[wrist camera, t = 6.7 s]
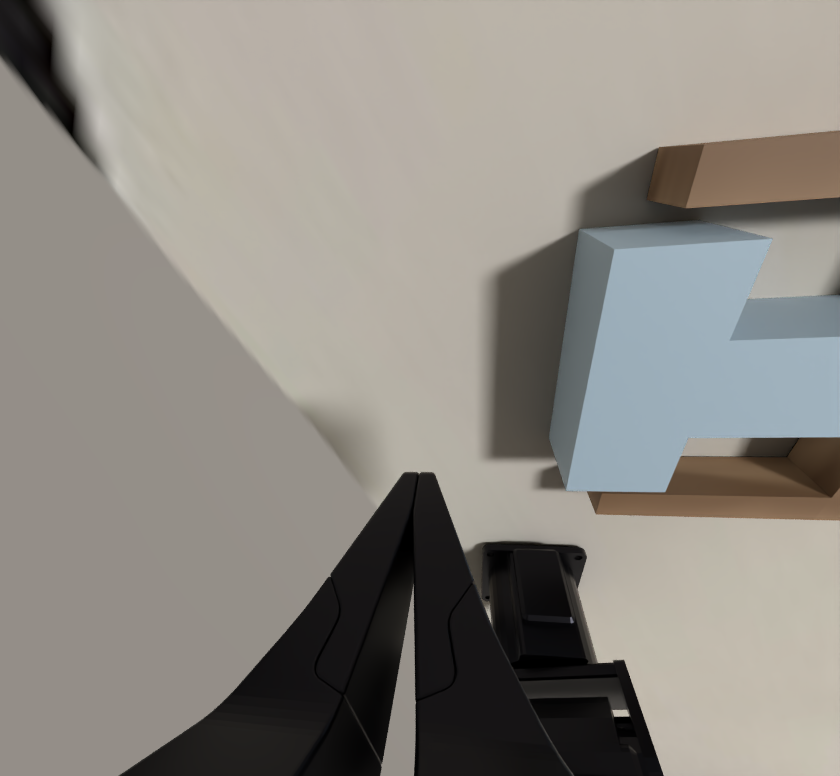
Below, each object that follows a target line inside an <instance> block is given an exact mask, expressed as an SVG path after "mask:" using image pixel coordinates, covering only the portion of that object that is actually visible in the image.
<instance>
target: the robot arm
mask: <svg viewBox="0 0 840 776" xmlns="http://www.w3.org/2000/svg"><path fill="white" fill-rule="evenodd" d="M586 559H587V556H586V553H585V550H584V549H582V548H579V547H553V546H525V545H497V544H488V545H485V546H484V547H483V556H482V599H483V600H485V601H490V610H491V623H490V620H489V618H488V615H487V613H486V610H485V608H484V605H483V603H482V600H481V598H480V595H479V592H478V590H477V587H476V585H475V584H474V579H473V576H472V574H471V571H470V568H469V566H468V563H467V560H466V557H465V555H464V552H463V549H462V547H461V544H460V541H459V538H458V536H457V533H456V530H455V528H454V525H453V522H452V519H451V517H450V514H449V511H448V509H447V506H446V503H445V500H444V498H443V495H442V492H441V490H440V487H439V484H438V481H437V479H436V476H435V474H434V473H433V472H421V473H420V474H419V473H417V472H405V473H403V474H402V476H401V477H400V478H399V480H398V481H397V483H396V484H395V485H394V487H393V488H392V490H391V491H390V492H389V494H388V495H387V496H386V498H385V499H384V501H383V502H382V503H381V505H380V506H379V508H378V509H377V510H376V512H375V513H374V515H373V516H372V517H371V519H370V520H369V522H368V523H367V524H366V526H365V527H364V528H363V530H362V531H361V533H360V534H359V535H358V537H357V538H356V540H355V541H354V542H353V544H352V545H351V547H350V548H349V549H348V551H347V552H346V554H345V555H344V556H343V558H342V559H341V560H340V562H339V563H338V565H337V566H336V567H335V569H334V570H333V572H332V573H331V577H328V578H327V580H326V581H325V583H324V584H323V585H322V586H321V588H320V589H319V591H318V592H317V593H316V595H315V596H314V597H313V599H312V600H311V601H310V603H309V604H308V605H307V606H306V608H305V609H304V610H303V612H302V613H301V614H300V615H299V616H298V618H297V619H296V620H295V621H294V622H293V624H292V625H291V626H290V627H289V628H288V629H287V631H286V632H285V633H284V634H283V635H282V637H281V638H280V639H279V640H278V641H277V642H276V643H275V644H274V646H273V647H272V648H271V649H270V650H269V651H268V652H267V654H266V655H265V656H264V657H263V658H262V659H261V661H260V662H259V663H258V664H257V665H256V666H255V668H253V670H252V671H251V672H250V673H249V674H248V675H247V676H246V678H245V679H244V680H243V681H242V682H241V683H240V684H239V686H238V687H237V688H236V689H235V690H234V691H233V692H232V693H231V694H230V695H229V696H228V697H227V698H226V699H225V700H224V701H223V702H222V703H221V704H220V705H219V706H218V707H217V708H216V709H214V710H213V711H212V712H211V713H210V714H208V715H207V716H206V717H205V718H204V719H202V720H201V721H199V722H198V723H196V724H195V725H193V726H192V727H190V728H189V729H187V730H186V731H185V732H183V733H182V734H180V735H179V736H177V737H176V738H174V739H173V740H171V741H170V742H168V743H167V744H165V745H164V746H162V747H161V748H159V749H158V750H156V751H155V752H153V753H152V754H150V755H149V756H147V757H146V758H145V759H143V760H141V761H140V762H138V763H137V764H135V765H134V766H133V767H131V768H130V769H128V770H127V771H125V772H124V773H122V774H121V775H119V776H380V773H381V768H382V767H381V764H382V762H383V756H384V750H385V744H386V738H387V733H388V727H389V721H390V716H391V710H392V704H393V698H394V692H395V687H396V681H397V675H398V669H399V663H400V658H401V653H402V647H403V641H404V635H405V630H406V624H407V618H408V612H409V607H410V601H411V595H412V589H413V584H414V633H415V697H416V698H415V700H416V743H415V745H416V746H415V768H414V776H664V775H663V772H662V769H661V766H660V763H659V760H658V757H657V755H656V752H655V749H654V746H653V743H652V740H651V737H650V734H649V731H648V728H647V725H646V722H645V720H644V717H643V714H642V711H641V708H640V705H639V702H638V699H637V696H636V693H635V690H634V687H633V685H632V682H631V679H630V676H629V673H628V670H627V667H626V664H625V661H624V660H613V662H614V663H598V662H597V659H596V655H595V651H594V648H593V644H592V640H591V637H590V633H589V630H588V626H587V622H586V619H585V615H584V611H583V608H582V604H581V601H580V597H579V593H578V590H577V588H578V585H579V582H580V579H581V575H582V572H583V569H584V565H585V562H586ZM612 710H627V711H628V714H629V717H614V715H613V711H612Z"/></svg>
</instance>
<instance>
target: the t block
mask: <svg viewBox="0 0 840 776" xmlns="http://www.w3.org/2000/svg"><path fill="white" fill-rule="evenodd" d="M771 242H772V238H768V237H764V236H760V235H756V234H752V233H748V232H744V231H740V230H736V229H733V228H729V227H725V226H721V225H717V224H713V223H709V222H705V221H701V220H691V221H678V222H665V223H652V224H638V225H625V226H612V227H599V228H585V229H579V234H578V241H577V248H576V254H575V261H574V268H573V275H572V282H571V289H570V296H569V303H568V310H567V317H566V324H565V330H564V337H563V344H562V351H561V358H560V365H559V372H558V379H557V386H556V393H555V399H554V406H553V413H552V420H551V427H550V434H549V440H550V443H551V446H552V449H553V452H554V455H555V458H556V461H557V465H558V468H559V471H560V474H561V477H562V480H563V483H564V486H565V489H566V491H605V492H666V489H667V487H668V485H669V482H670V480H671V477H672V475H673V473H674V470H675V468H676V466H677V463H678V461H679V459H680V456H681V454H682V452H683V449H684V447H685V445H686V442H687V440H688V438H784V437H840V295H823V296H803V297H782V298H762V299H747V298H748V296H749V294H750V291H751V289H752V287H753V284H754V282H755V280H756V277H757V275H758V272H759V270H760V268H761V265H762V263H763V261H764V258H765V256H766V254H767V251H768V249H769V247H770V244H771Z"/></svg>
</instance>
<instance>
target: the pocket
mask: <svg viewBox="0 0 840 776" xmlns="http://www.w3.org/2000/svg"><path fill="white" fill-rule="evenodd" d="M836 197H840V131H830V132H819V133H808V134H798V135H787V136H776V137H765V138H754V139H744V140H733V141H722V142H711V143H700V144H690V145H679V146H668V147H659V149H658V154H657V158H656V162H655V166H654V170H653V175H652V179H651V183H650V187H649V192H648V196H647V200H649V201H654V202H658V203H663V204H668V205H672V206H677V207H682V208H698V207H712V206H726V205H739V204H753V203H767V202H781V201H794V200H808V199H822V198H836ZM587 493H588V495H589V498H590V500H591V503H592V506H593V508H594V511H595V513H596V514H604V515H644V516H684V517H723V518H763V519H803V520H840V437H800V438H799V440H798V441H797V443H796V444H795V446H794V447H793V449H792V450H791V452H790V453H789V455H788V456H787V457H680V459H679V461H678V463H677V466H676V468H675V470H674V473H673V475H672V477H671V480H670V482H669V485H668V487H667V489H666V492H605V491H587Z"/></svg>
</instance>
